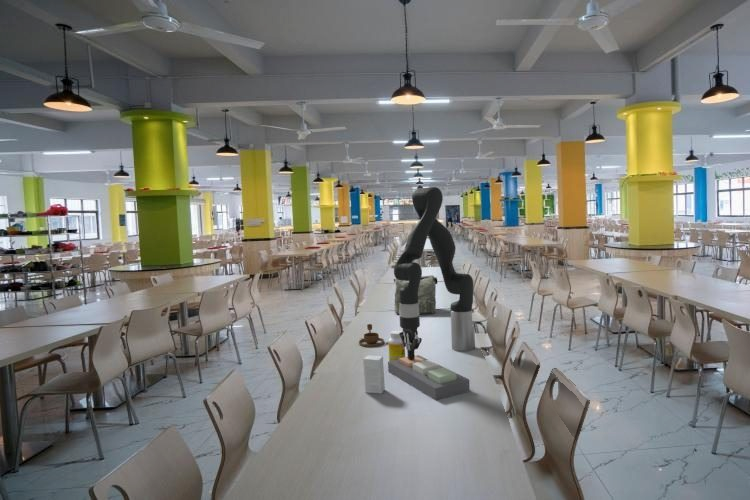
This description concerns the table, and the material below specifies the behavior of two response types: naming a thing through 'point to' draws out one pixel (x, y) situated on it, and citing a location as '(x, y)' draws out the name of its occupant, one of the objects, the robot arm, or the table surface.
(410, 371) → the keypad
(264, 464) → the table surface
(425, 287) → the lunch bag
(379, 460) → the table surface
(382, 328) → the table surface
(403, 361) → the terracotta key
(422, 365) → the grey key
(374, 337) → the place setting
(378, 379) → the skincare box
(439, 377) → the sage key
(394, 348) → the supplement bottle
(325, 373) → the table surface
